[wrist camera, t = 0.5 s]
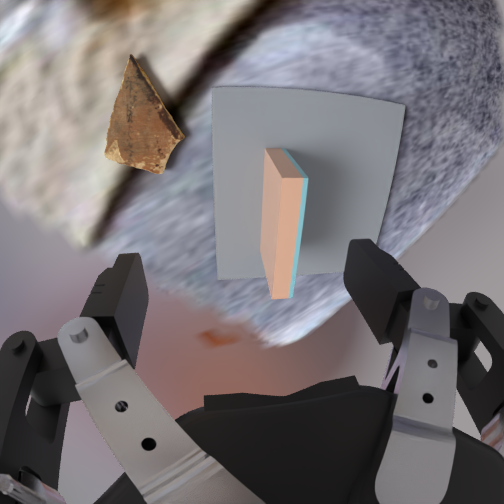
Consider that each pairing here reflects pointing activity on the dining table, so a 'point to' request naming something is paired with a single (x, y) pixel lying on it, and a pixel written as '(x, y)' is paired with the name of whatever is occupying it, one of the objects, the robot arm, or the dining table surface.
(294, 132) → the board
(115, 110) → the shard
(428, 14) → the dining table surface
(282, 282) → the tile
